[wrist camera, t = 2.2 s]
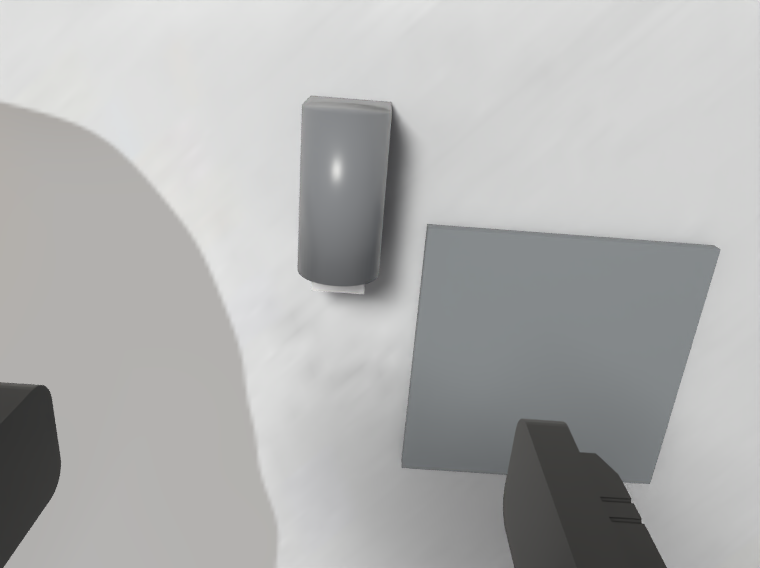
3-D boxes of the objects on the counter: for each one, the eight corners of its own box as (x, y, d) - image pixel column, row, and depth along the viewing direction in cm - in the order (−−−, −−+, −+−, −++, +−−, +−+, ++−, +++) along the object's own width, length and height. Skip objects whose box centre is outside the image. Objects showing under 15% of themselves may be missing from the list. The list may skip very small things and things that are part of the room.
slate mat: (714, 245, 31) (720, 249, 30) (645, 476, 36) (649, 483, 36) (427, 224, 30) (428, 228, 30) (401, 460, 36) (401, 467, 35)
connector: (390, 102, 28) (392, 118, 24) (377, 271, 31) (376, 315, 27) (310, 95, 28) (296, 110, 24) (305, 266, 31) (291, 309, 27)
